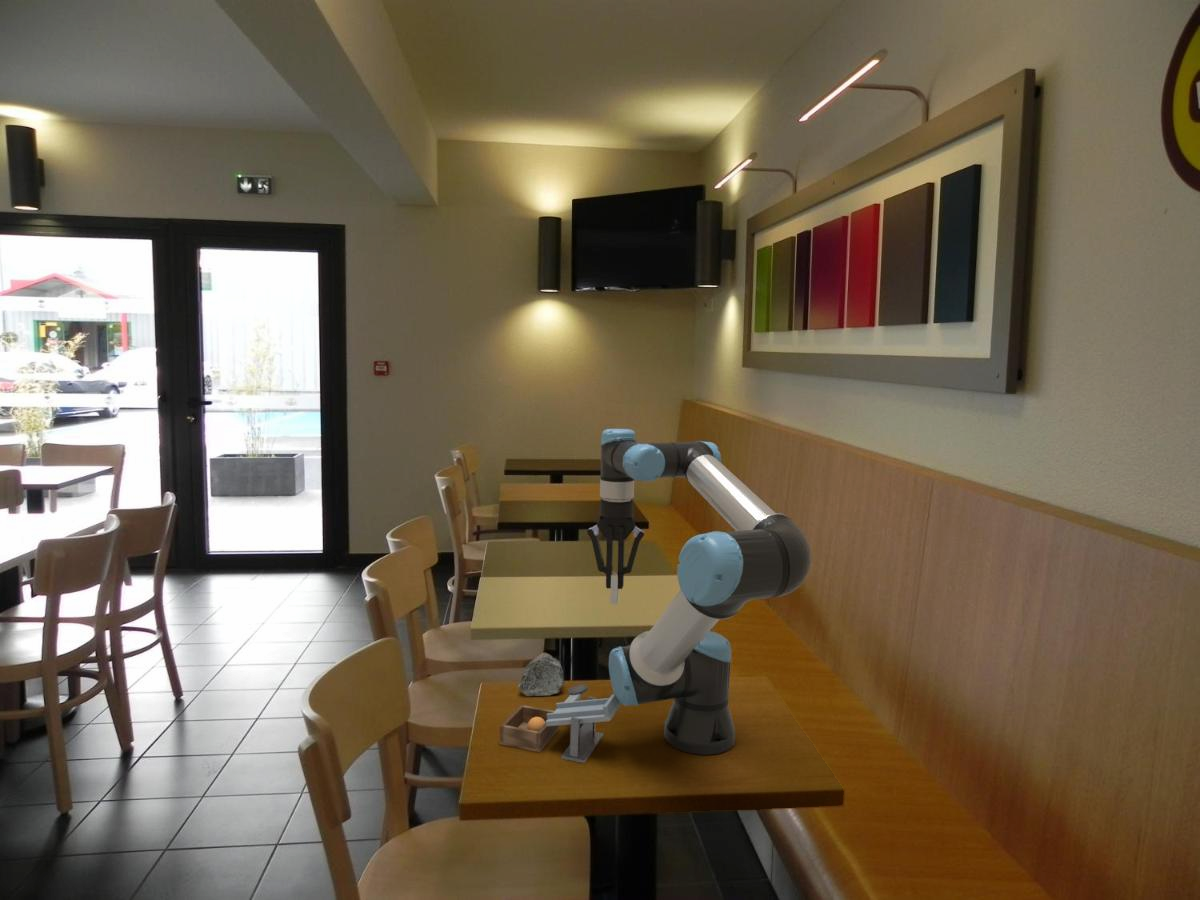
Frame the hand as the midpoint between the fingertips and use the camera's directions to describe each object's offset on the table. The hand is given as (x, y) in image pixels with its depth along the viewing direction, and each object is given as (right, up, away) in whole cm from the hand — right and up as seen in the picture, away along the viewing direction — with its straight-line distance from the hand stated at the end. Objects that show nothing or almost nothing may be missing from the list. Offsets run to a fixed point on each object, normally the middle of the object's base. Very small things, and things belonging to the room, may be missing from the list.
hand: (614, 602), depth 176 cm
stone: (-17, -24, +14) cm, 33 cm away
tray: (-18, -27, -9) cm, 34 cm away
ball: (-15, -25, -10) cm, 31 cm away
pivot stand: (-7, -28, -13) cm, 31 cm away
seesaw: (-5, -20, -9) cm, 23 cm away
